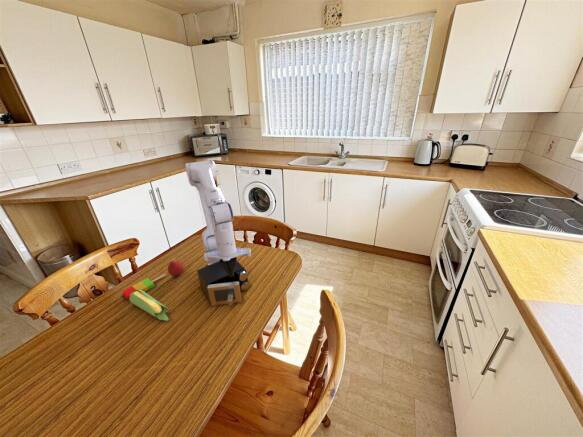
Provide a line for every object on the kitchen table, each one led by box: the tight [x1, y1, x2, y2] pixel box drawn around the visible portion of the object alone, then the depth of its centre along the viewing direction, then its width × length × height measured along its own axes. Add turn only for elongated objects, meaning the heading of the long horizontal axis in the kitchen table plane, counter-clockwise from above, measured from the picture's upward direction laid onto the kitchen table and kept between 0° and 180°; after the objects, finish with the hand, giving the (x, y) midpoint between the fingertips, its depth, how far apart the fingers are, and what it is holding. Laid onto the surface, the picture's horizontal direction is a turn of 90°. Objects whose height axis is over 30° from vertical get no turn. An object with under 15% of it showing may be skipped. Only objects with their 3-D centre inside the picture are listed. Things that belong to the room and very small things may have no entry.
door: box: [207, 281, 243, 307], centre depth 78 cm, size 6×10×8 cm, turn 98°
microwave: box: [196, 259, 250, 301], centre depth 87 cm, size 12×14×8 cm
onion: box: [167, 258, 185, 277], centre depth 94 cm, size 6×6×8 cm
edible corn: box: [128, 290, 171, 321], centre depth 79 cm, size 5×20×5 cm, turn 59°
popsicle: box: [122, 273, 167, 301], centre depth 91 cm, size 6×15×2 cm, turn 143°
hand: (231, 275), depth 80 cm, fingers closed
